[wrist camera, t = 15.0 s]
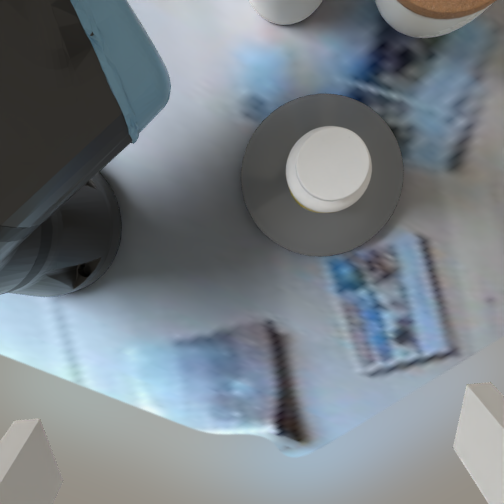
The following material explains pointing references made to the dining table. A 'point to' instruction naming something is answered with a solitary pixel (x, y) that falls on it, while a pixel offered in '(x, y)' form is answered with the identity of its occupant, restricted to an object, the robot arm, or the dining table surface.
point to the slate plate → (276, 187)
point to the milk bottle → (285, 10)
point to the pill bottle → (328, 169)
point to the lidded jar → (430, 15)
